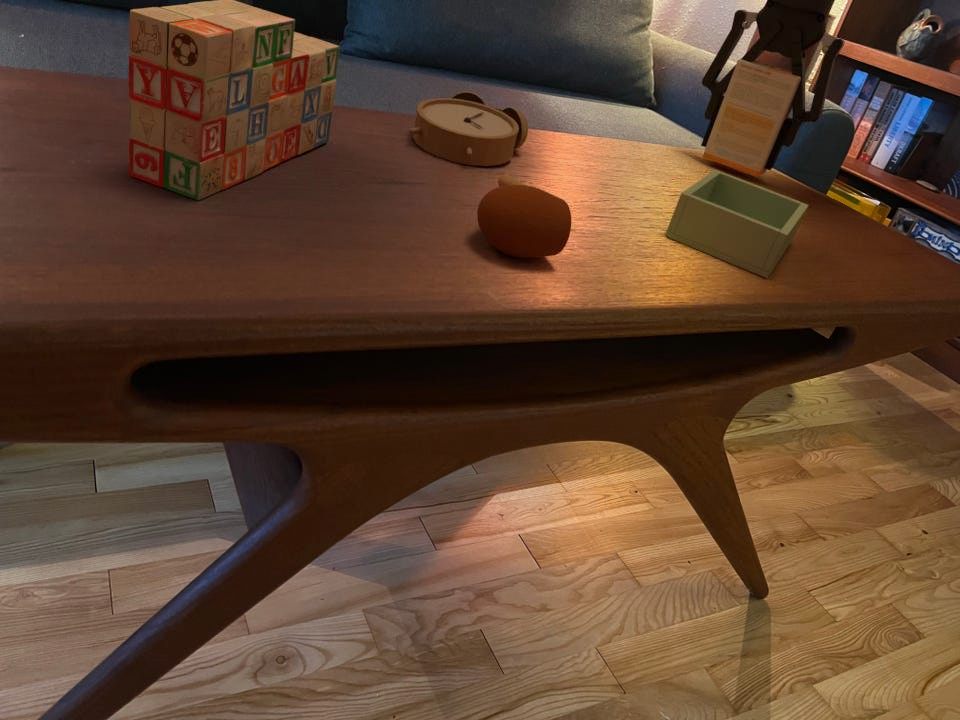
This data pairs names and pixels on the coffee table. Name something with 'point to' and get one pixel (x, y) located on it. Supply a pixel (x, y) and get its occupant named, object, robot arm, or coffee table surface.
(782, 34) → the robot arm
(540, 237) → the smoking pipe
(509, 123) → the alarm clock
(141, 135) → the stack of blocks
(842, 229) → the coffee table surface
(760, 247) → the box
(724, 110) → the supplement box
